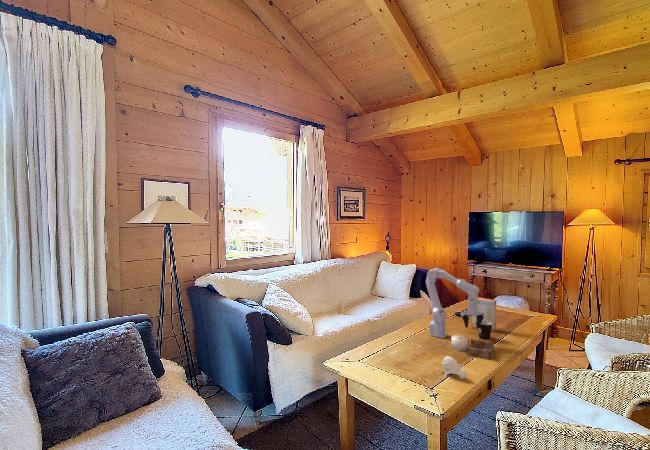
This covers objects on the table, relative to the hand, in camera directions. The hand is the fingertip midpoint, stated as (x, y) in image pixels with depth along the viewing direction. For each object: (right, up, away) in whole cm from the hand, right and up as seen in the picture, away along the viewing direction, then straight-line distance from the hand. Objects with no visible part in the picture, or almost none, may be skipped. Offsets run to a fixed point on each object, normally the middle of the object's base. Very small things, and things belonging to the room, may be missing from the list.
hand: (472, 327), depth 207 cm
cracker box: (+19, -9, +25) cm, 32 cm away
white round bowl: (-11, -10, -7) cm, 17 cm away
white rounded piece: (-27, -12, -41) cm, 50 cm away
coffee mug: (+12, -10, +9) cm, 18 cm away
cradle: (-2, -10, -13) cm, 17 cm away
